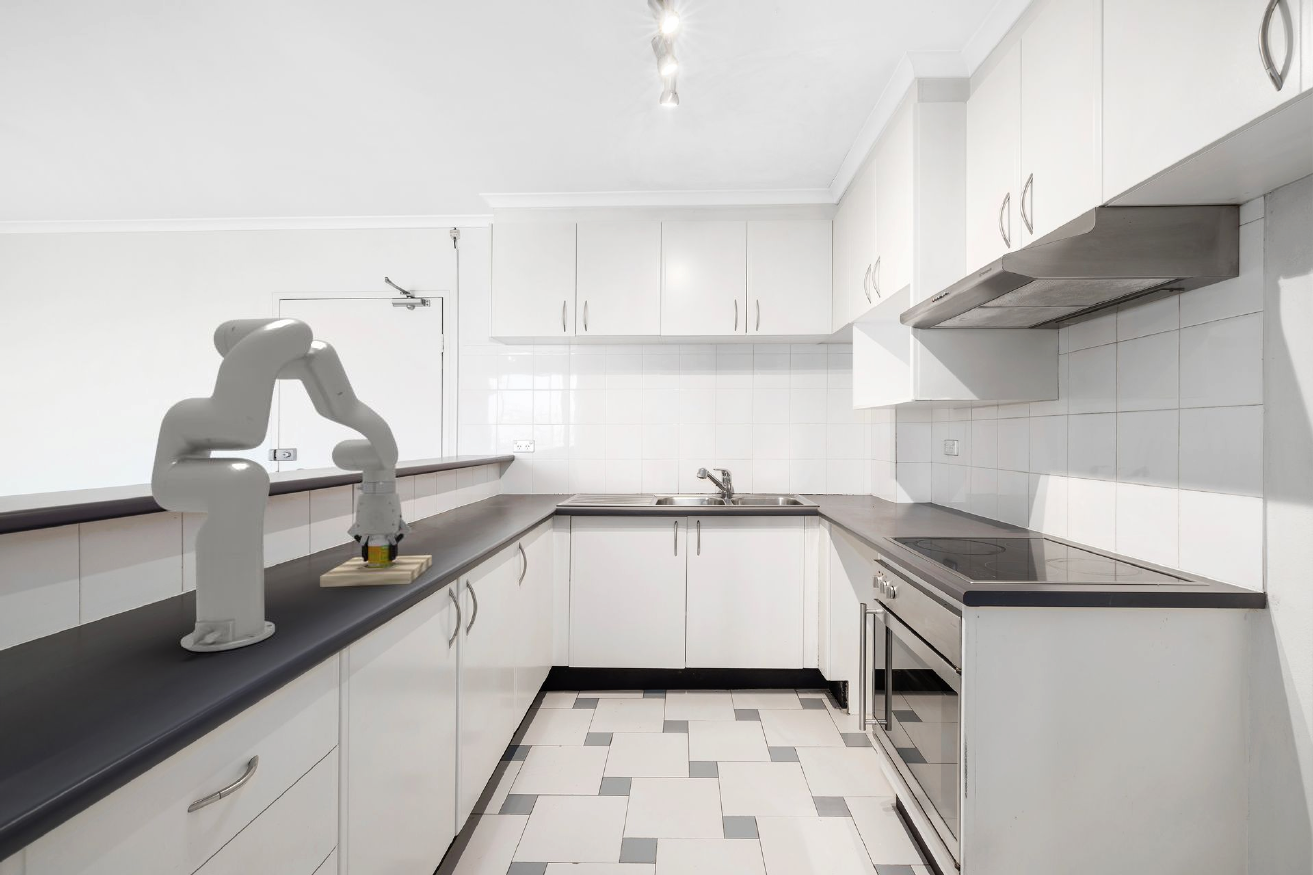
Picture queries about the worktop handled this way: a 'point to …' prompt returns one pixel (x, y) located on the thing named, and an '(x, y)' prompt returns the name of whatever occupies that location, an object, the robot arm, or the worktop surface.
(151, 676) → the worktop surface
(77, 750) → the worktop surface
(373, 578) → the plate
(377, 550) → the supplement bottle
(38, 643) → the worktop surface
